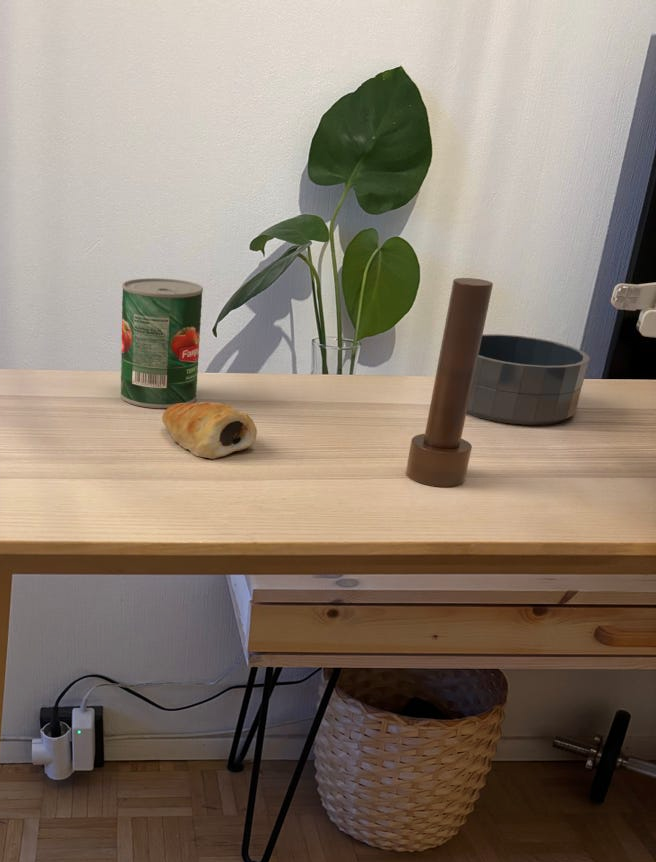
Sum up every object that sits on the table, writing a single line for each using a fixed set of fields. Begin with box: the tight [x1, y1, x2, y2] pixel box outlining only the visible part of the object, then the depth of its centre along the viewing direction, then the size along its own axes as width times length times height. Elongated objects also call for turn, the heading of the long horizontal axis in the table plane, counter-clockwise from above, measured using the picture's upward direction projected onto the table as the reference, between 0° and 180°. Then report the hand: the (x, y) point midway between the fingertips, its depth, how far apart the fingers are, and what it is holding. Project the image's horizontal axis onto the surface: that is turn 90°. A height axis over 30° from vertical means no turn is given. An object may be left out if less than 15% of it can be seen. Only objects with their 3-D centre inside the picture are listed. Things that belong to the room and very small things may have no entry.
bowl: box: [466, 333, 590, 426], centre depth 100 cm, size 13×13×6 cm
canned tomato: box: [119, 277, 204, 409], centre depth 96 cm, size 8×8×11 cm
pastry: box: [161, 401, 258, 460], centre depth 86 cm, size 9×7×4 cm
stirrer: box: [405, 277, 494, 488], centre depth 78 cm, size 5×5×16 cm
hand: (626, 307), depth 74 cm, fingers open, 8 cm apart
